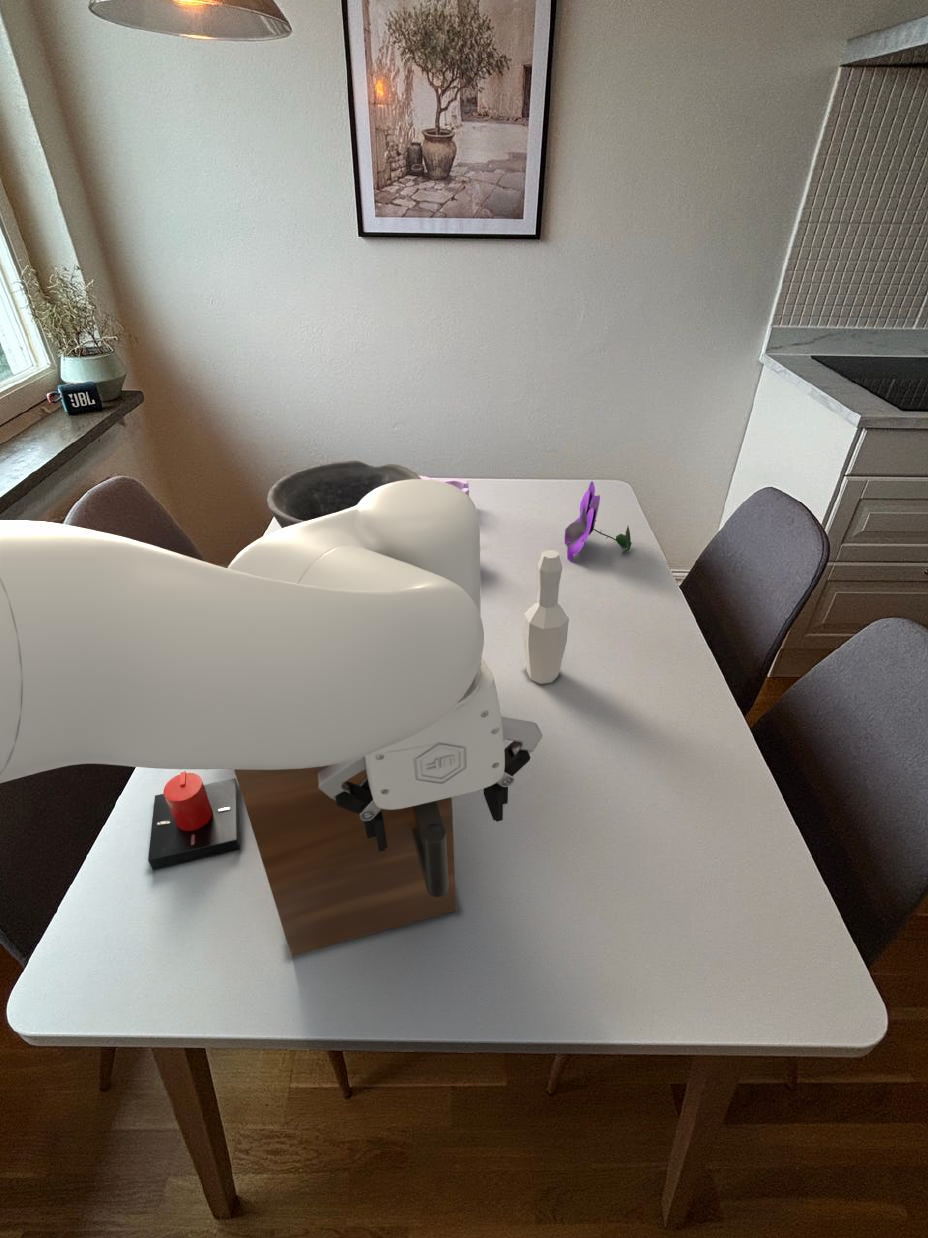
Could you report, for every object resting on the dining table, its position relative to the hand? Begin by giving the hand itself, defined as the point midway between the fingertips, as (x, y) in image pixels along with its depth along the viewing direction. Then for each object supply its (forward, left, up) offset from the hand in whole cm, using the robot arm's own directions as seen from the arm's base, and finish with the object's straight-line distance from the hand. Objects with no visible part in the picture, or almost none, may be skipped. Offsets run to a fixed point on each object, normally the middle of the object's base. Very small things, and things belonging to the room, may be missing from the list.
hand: (437, 822), depth 56 cm
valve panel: (+26, +25, -24) cm, 44 cm away
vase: (+54, -1, -24) cm, 59 cm away
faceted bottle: (+41, -27, -24) cm, 55 cm away
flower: (+74, -52, -24) cm, 94 cm away
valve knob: (+26, +25, -22) cm, 43 cm away
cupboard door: (+3, +6, -24) cm, 25 cm away
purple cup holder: (+101, -22, -24) cm, 106 cm away
